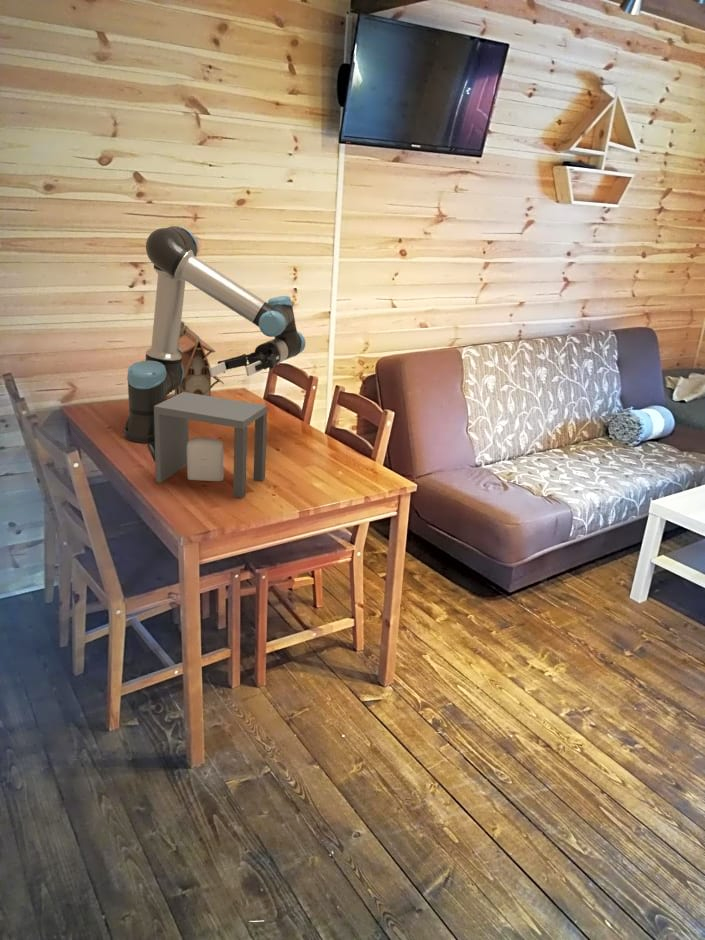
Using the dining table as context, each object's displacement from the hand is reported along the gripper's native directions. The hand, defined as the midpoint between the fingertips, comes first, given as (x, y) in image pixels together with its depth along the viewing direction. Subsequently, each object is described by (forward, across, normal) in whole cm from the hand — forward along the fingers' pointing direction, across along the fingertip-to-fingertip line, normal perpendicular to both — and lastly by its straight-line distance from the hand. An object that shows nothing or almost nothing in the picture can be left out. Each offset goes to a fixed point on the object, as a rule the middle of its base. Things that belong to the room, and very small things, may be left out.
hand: (228, 371), depth 208 cm
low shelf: (+17, 0, -27) cm, 32 cm away
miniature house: (-31, +48, -22) cm, 61 cm away
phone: (+9, +25, -23) cm, 35 cm away
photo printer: (+17, +2, -27) cm, 32 cm away
